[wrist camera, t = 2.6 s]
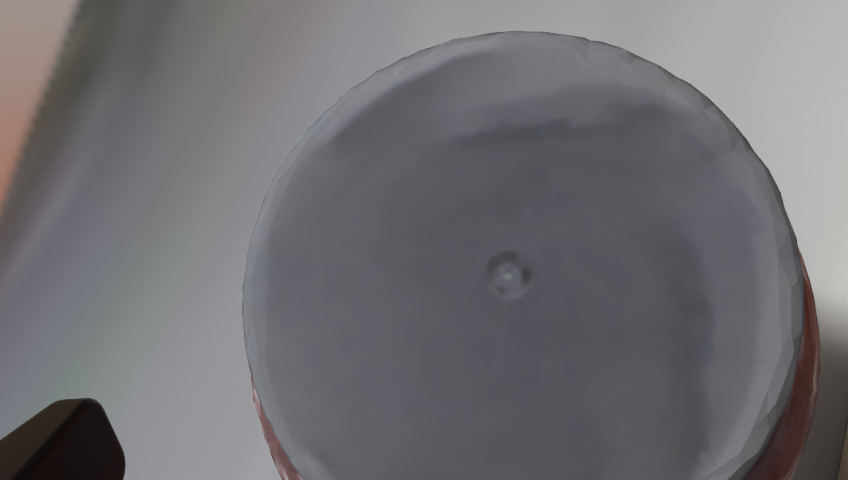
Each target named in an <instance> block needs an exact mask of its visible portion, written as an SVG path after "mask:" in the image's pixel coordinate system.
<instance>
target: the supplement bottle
mask: <svg viewBox="0 0 848 480" xmlns="http://www.w3.org/2000/svg"><path fill="white" fill-rule="evenodd" d="M242 314H243V327H244V337H245V348H246V354H247V358H248V363H249V367H250V371H251V380H252V388H253V400H254V403H255V406H256V409H257V412H258V415H259V418H260V420H261V423H262V428H263V432H264V436H265V438H266V441H267V443H268V445H269V448H270V452H271V455H272V458H273V460H274V463H275V465H276V467H277V470H278V473H279V474H280V476H281V478H282V480H791V479H792V478H793V476H794V473H795V471H796V468H797V465H798V463H799V460H800V457H801V455H802V452H803V450H804V446H805V442H806V439H807V437H808V434H809V431H810V429H811V426H812V422H813V418H814V414H815V406H816V400H817V397H818V380H819V373H820V341H819V327H818V321H817V315H816V308H815V300H814V296H813V292H812V288H811V284H810V280H809V276H808V273H807V270H806V267H805V264H804V261H803V257H802V255H801V253H800V250H799V248H798V245H797V239H796V236H795V233H794V231H793V228H792V226H791V223H790V221H789V218H788V216H787V213H786V211H785V208H784V204H783V200H782V197H781V193H780V191H779V189H778V187H777V185H776V183H775V181H774V179H773V177H772V175H771V173H770V171H769V169H768V168H767V167H766V165H765V164H764V163H763V162H762V161H761V159H760V158H759V157H758V156H757V154H756V153H755V152H754V151H753V149H752V147H751V146H750V144H749V143H748V141H747V139H746V138H745V137H744V136H743V135H742V133H741V132H740V131H739V130H738V128H737V127H736V126H735V125H734V124H733V123H732V122H731V121H730V120H729V118H728V117H727V116H726V115H725V114H724V113H723V112H722V111H721V110H720V109H719V108H718V107H717V106H716V105H715V104H714V103H713V102H712V101H711V100H710V99H709V98H708V97H707V96H705V95H704V94H703V93H701V92H700V91H699V90H697V89H696V88H695V87H693V86H692V85H691V84H689V83H688V82H686V81H684V80H682V79H680V78H677V77H676V76H674V75H673V74H671V73H670V72H668V71H667V70H665V69H664V68H662V67H661V66H659V65H657V64H654V63H652V62H650V61H648V60H645V59H643V58H641V57H639V56H637V55H635V54H633V53H631V52H629V51H627V50H624V49H622V48H619V47H616V46H613V45H610V44H607V43H604V42H599V41H590V40H588V39H586V38H583V37H576V36H570V35H563V34H555V33H549V32H524V31H509V32H497V33H489V34H483V35H478V36H473V37H469V38H460V39H453V40H451V41H448V42H445V43H443V44H440V45H437V46H434V47H431V48H427V49H424V50H421V51H418V52H416V53H414V54H412V55H410V56H408V57H404V58H402V59H400V60H398V61H397V62H395V63H393V64H392V65H390V66H388V67H386V68H384V69H381V70H379V71H377V72H375V73H374V74H373V75H371V76H370V77H369V78H368V79H366V80H365V81H363V82H362V83H360V84H358V85H356V86H355V87H353V88H352V89H351V90H349V91H348V92H347V93H346V94H344V95H343V96H342V97H341V98H340V99H339V100H338V101H337V102H336V103H335V104H334V105H333V106H332V107H330V108H329V109H328V110H327V111H326V112H325V113H324V114H323V115H322V116H321V117H320V118H319V119H318V120H317V121H316V122H315V123H314V124H313V125H312V126H311V127H310V128H309V129H308V130H307V131H306V133H305V134H304V136H303V138H302V139H301V141H300V142H299V143H298V145H297V146H296V147H295V148H294V149H293V150H292V152H291V153H290V154H289V156H288V157H287V158H286V160H285V161H284V163H283V164H282V165H281V167H280V168H279V169H278V172H277V174H276V176H275V178H274V180H273V182H272V184H271V186H270V188H269V190H268V192H267V194H266V196H265V198H264V201H263V204H262V207H261V210H260V213H259V216H258V219H257V222H256V225H255V228H254V231H253V234H252V237H251V241H250V244H249V248H248V256H247V264H246V272H245V277H244V283H243V306H242Z"/></svg>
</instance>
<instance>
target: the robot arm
mask: <svg viewBox="0 0 848 480" xmlns="http://www.w3.org/2000/svg"><path fill="white" fill-rule="evenodd" d="M124 474H125V456H124V452H123V449H122V447H121V445H120V443H119V441H118V438H117V436H116V434H115V432H114V430H113V428H112V426H111V424H110V421H109V419H108V417H107V415H106V413H105V411H104V409H103V407H102V405H101V404H100V403H99V402H98V401H96V400H95V399H91V398H81V399H65V400H59V401H56V402H54V403H52V404H51V405H49V406H48V407H46V408H45V409H43V410H42V411H41V412H39V413H38V414H36V415H35V416H34V417H32V418H31V419H29V420H28V421H27V422H25V423H24V424H22V425H21V426H19V427H18V428H17V429H15V430H14V431H12V432H11V433H10V434H8V435H7V436H5V437H4V438H3V439H1V440H0V480H123V479H124Z"/></svg>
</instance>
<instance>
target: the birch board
mask: <svg viewBox="0 0 848 480" xmlns="http://www.w3.org/2000/svg"><path fill="white" fill-rule="evenodd" d="M837 480H848V425H847V431H846V436H845V441H844V446H843V451H842V457H841V462H840V467H839V472H838V477H837Z"/></svg>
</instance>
